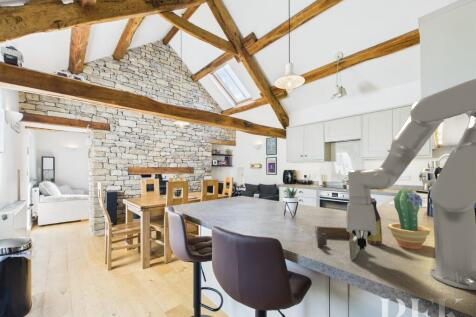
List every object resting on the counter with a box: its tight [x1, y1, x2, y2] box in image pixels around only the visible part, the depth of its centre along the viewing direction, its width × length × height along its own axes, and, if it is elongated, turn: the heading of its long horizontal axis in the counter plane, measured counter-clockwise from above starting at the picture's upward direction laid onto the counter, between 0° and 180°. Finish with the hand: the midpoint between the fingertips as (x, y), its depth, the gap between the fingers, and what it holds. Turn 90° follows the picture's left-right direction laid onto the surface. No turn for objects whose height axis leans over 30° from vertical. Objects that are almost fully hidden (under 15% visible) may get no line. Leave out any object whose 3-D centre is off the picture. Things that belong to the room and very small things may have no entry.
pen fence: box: [314, 225, 363, 251], centre depth 104 cm, size 18×18×9 cm
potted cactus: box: [387, 188, 431, 250], centre depth 99 cm, size 15×15×25 cm
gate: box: [348, 236, 361, 260], centre depth 89 cm, size 12×2×7 cm, turn 142°
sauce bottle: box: [366, 199, 383, 246], centre depth 103 cm, size 6×6×20 cm
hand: (362, 247), depth 86 cm, fingers closed
